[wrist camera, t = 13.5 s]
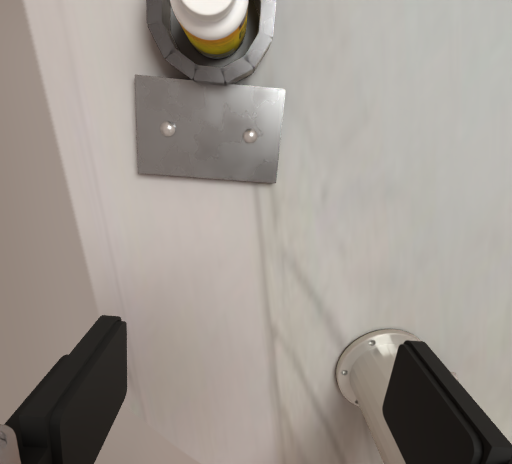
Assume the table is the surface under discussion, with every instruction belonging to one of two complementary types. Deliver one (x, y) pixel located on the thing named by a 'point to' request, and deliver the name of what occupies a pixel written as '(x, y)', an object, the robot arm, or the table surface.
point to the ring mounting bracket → (208, 111)
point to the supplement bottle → (213, 24)
